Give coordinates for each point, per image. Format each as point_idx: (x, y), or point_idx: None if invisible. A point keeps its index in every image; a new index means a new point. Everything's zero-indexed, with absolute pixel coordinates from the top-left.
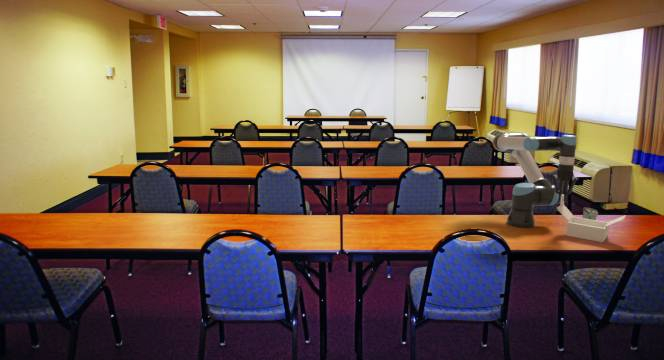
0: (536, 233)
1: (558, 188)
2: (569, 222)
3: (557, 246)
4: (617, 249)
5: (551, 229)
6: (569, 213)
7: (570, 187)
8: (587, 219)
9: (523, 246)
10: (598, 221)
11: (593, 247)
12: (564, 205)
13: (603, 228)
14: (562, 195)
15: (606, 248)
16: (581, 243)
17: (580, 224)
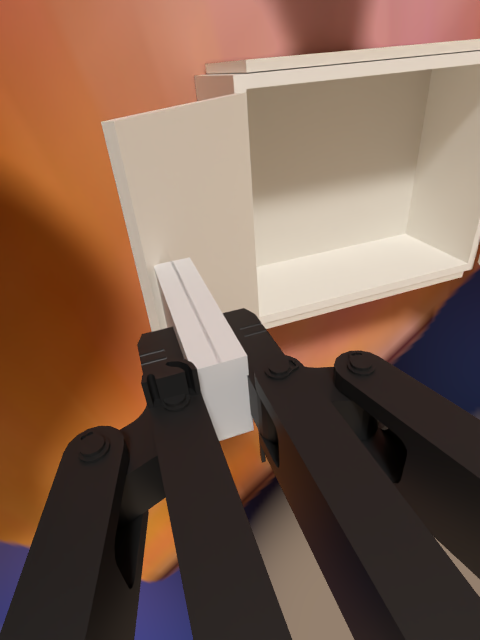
0: (68, 382)
1: (113, 530)
2: (266, 322)
3: (248, 452)
4: (455, 286)
5: (73, 208)
6: (227, 175)
7: (470, 553)
8: (369, 75)
9: (150, 549)
10: (454, 66)
11: (369, 344)
12: (147, 124)
13: (464, 269)
14: (231, 435)
15: (416, 312)
16: (319, 336)
17: (338, 303)
